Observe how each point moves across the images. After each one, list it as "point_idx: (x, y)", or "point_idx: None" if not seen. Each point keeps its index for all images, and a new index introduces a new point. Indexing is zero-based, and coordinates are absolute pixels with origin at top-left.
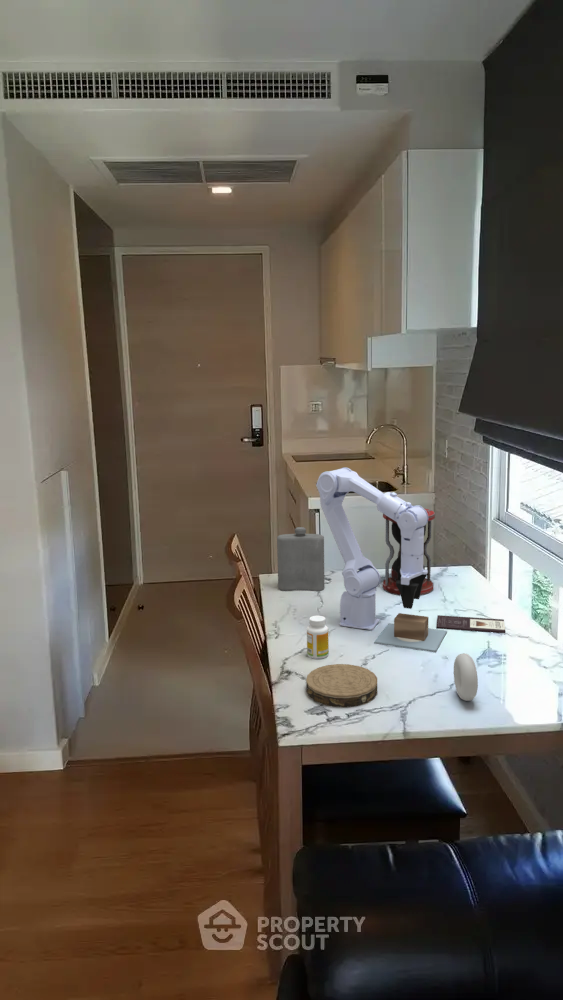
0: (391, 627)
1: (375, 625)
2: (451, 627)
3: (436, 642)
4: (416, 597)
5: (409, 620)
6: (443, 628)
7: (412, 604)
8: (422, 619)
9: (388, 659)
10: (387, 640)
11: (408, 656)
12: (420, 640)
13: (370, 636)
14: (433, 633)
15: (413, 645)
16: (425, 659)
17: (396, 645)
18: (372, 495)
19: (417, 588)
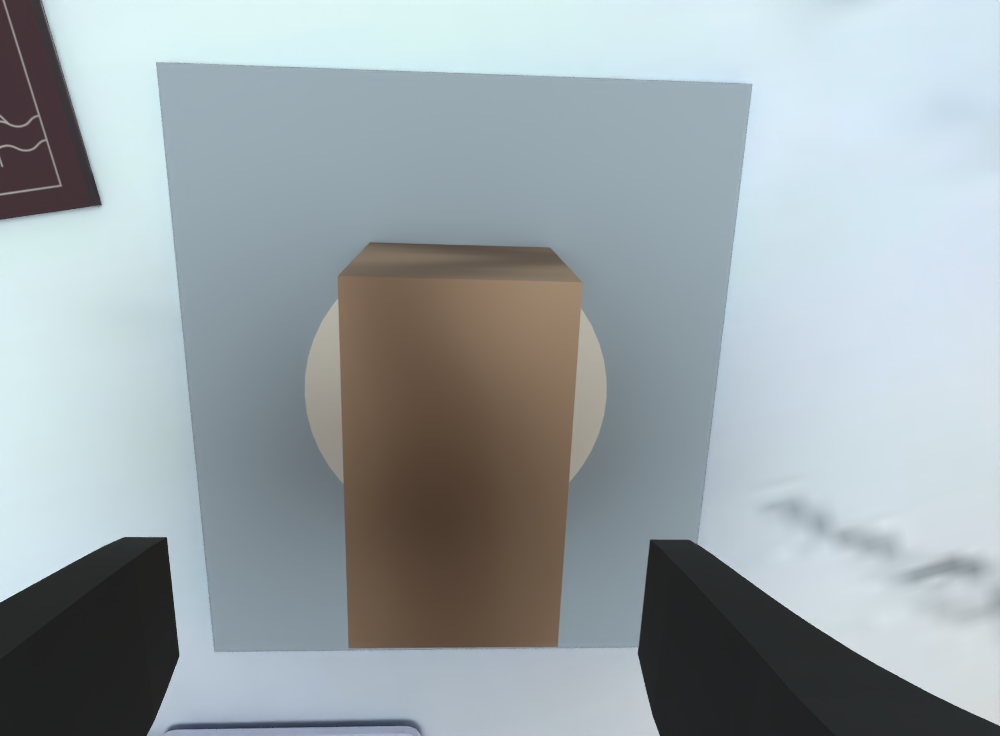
0: (314, 604)
1: (317, 730)
2: (23, 26)
3: (540, 116)
4: (158, 590)
5: (561, 477)
6: (73, 122)
7: (723, 565)
8: (468, 332)
9: (977, 453)
10: (632, 559)
11: (888, 314)
12: None
13: (542, 697)
14: (304, 196)
15: (681, 323)
16: (927, 152)
17: (704, 464)
18: None
19: (44, 711)
